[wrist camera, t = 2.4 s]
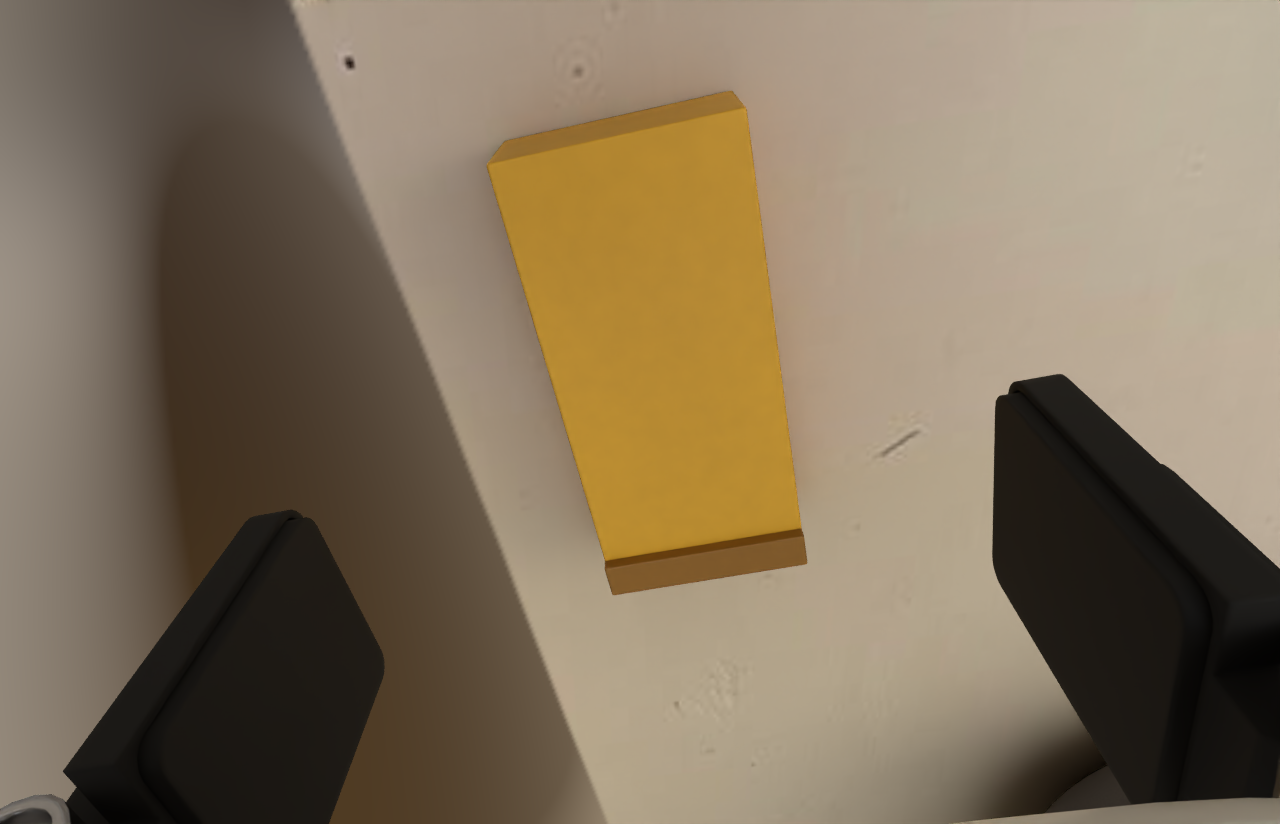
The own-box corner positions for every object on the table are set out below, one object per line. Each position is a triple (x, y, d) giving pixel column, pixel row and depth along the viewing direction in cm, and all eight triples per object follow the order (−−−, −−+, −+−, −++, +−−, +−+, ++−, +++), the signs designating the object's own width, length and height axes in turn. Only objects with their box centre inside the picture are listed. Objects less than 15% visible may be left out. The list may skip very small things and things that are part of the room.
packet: (503, 141, 22) (482, 167, 19) (732, 89, 21) (748, 109, 18) (614, 531, 28) (612, 595, 26) (789, 501, 28) (807, 564, 25)
